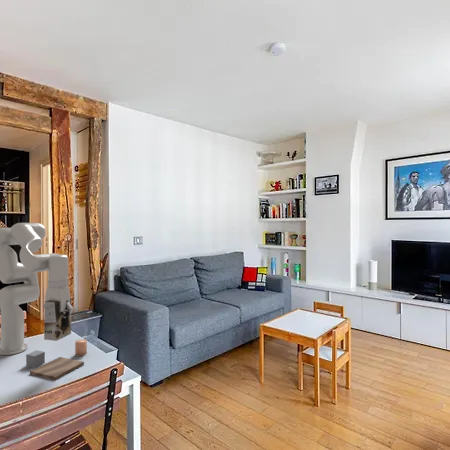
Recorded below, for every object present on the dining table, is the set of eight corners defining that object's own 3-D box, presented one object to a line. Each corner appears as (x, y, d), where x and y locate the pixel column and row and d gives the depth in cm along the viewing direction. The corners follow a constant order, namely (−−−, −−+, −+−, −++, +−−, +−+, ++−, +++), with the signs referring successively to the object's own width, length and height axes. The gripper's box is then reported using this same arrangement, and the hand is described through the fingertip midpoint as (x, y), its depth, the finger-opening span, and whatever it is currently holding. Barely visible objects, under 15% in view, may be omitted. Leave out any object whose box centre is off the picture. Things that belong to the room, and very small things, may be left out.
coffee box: (57, 341, 131) (57, 302, 131) (43, 339, 133) (43, 301, 133) (72, 333, 140) (72, 297, 140) (59, 332, 142) (59, 296, 142)
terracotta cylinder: (72, 355, 151) (72, 342, 151) (80, 351, 156) (81, 338, 156) (81, 356, 150) (81, 343, 150) (89, 352, 154) (89, 340, 154)
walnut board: (29, 374, 132) (29, 371, 132) (59, 359, 146) (59, 356, 146) (55, 380, 127) (55, 377, 127) (83, 364, 141) (83, 361, 141)
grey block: (26, 365, 140) (26, 354, 140) (36, 361, 144) (36, 350, 144) (34, 367, 138) (34, 356, 138) (44, 363, 143) (44, 351, 143)
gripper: (35, 284, 136) (35, 325, 136) (66, 287, 130) (66, 330, 130) (50, 281, 143) (50, 320, 143) (80, 283, 137) (80, 325, 137)
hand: (58, 325), depth 137 cm, fingers closed on coffee box, 7 cm apart
